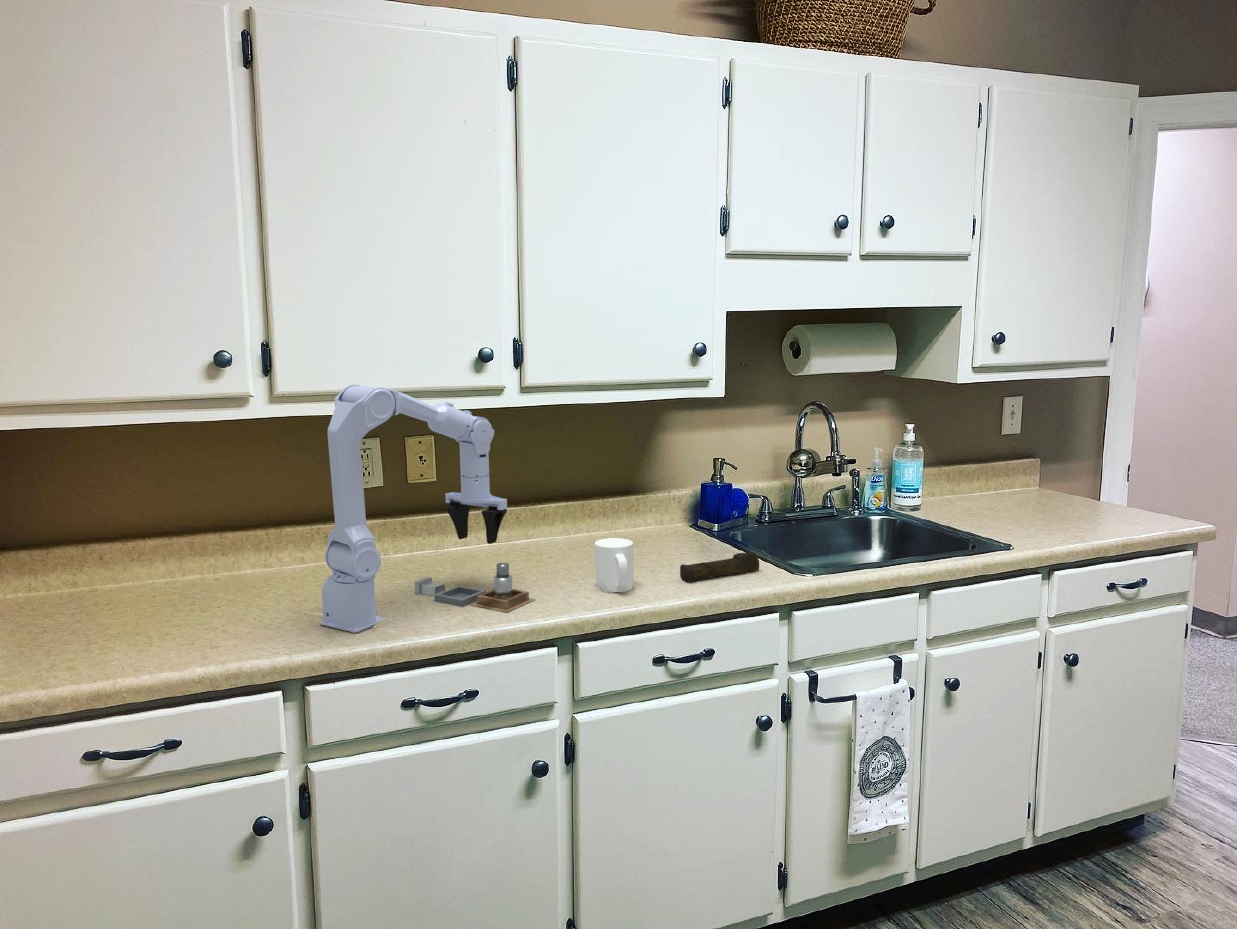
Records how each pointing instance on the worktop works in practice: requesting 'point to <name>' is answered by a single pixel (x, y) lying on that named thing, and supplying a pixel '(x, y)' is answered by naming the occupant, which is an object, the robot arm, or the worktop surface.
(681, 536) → the worktop surface
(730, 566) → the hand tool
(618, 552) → the mug
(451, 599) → the grey square tray
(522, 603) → the brown square tray
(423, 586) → the grey stepped block
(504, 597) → the stepped metal cylinder
